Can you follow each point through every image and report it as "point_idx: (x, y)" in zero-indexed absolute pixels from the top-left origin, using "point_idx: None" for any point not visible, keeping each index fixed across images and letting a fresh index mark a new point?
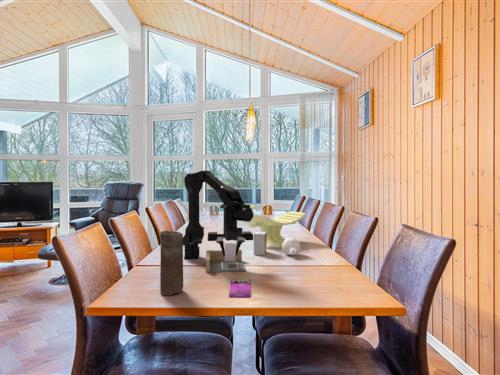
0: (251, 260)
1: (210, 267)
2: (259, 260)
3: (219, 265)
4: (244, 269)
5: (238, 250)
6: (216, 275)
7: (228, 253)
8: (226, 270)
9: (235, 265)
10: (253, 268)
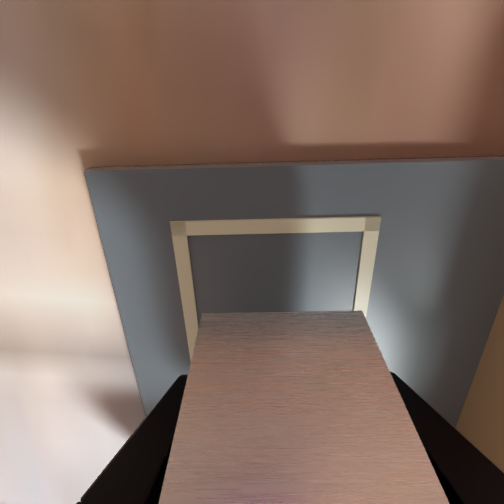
0: (75, 459)
1: (495, 294)
2: (5, 454)
3: (382, 345)
4: (101, 188)
5: (103, 471)
6: (495, 6)
7: (330, 409)
8: (333, 168)
9: None
10: (14, 257)
